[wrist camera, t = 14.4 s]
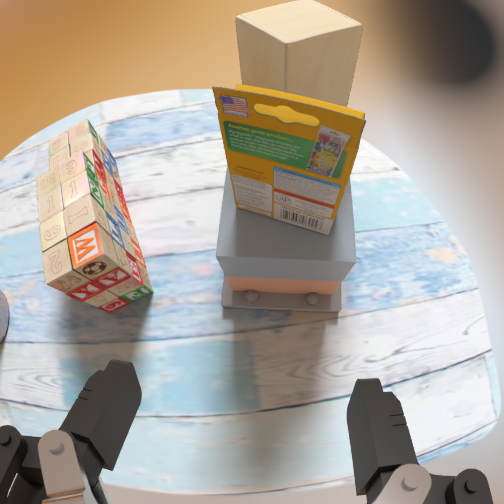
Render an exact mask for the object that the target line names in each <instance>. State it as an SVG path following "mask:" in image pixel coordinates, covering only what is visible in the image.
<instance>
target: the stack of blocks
mask: <svg viewBox="0 0 504 504" xmlns="http://www.w3.org/2000/svg"><path fill="white" fill-rule="evenodd" d="M49 156H50V157H49V171H48V172H46V173H45V174H43V175H42V176H40V177H38V178H37V200H38V211H39V222H40V225H39V229H40V240H41V248H42V252H43V254H42V260H43V268H44V275H45V281H46V284H47V285H49V286H51V287H53V288H55V289H58V290H60V291H62V292H65V293H66V295H68V296H70V297H72V298H74V299H77V300H79V301H82V302H85V303H88V304H90V305H92V306H95V307H97V308H99V309H101V310H104V311H106V312H108V313H110V312H112V311H114V310H116V309H119V308H121V307H123V306H125V305H127V304H129V303H131V302H133V301H135V300H137V299H140V298H142V297H144V296H146V295H148V294H151V293H153V288H152V286H151V283H150V280H149V277H148V274H147V270H146V265H145V262H144V259H143V256H142V253H141V249H140V247H139V243H138V239H137V236H136V233H135V230H134V227H133V225H132V222H131V219H130V216H129V212H128V208H127V207H126V203H125V199H124V195H123V192H122V189H123V188H122V184H121V180H120V176H119V173H118V169H117V165H116V161H115V159H114V157H113V156H112V154H111V153H110V151H109V150H108V148H107V147H106V145H105V143H104V142H103V140H102V139H101V137H100V136H99V134H97V133H96V131H95V130H94V128H93V127H92V125H91V123H90V122H89V120H88V119H87V120H85V121H83V122H81V123H79V124H78V125H76V126H74V127H72V128H71V129H69V130H68V131H66V132H65V133H63V134H61V135H60V136H58V137H56V138H55V139H53V140H52V141H50V142H49Z"/></svg>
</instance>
